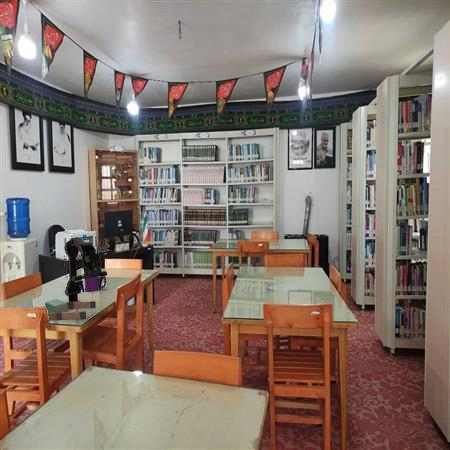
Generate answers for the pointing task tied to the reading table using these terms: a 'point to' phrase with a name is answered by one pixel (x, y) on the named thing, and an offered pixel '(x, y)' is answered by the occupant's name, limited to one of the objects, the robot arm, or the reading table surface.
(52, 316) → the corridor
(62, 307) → the box
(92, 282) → the mug
